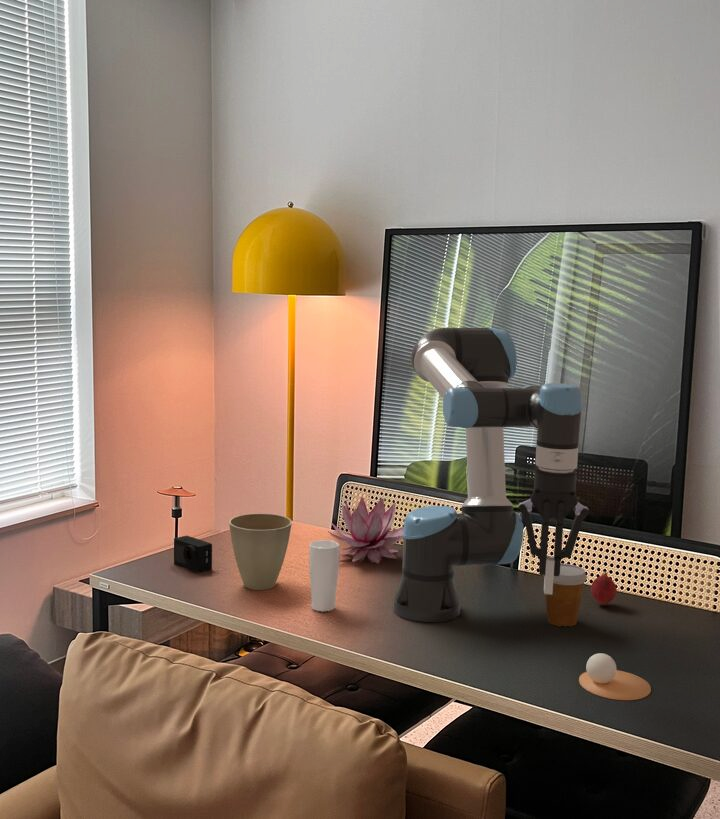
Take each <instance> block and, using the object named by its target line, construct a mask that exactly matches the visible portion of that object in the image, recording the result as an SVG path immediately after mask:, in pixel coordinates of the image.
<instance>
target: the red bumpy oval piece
mask: <svg viewBox="0 0 720 819" xmlns="http://www.w3.org/2000/svg"><path fill="white" fill-rule="evenodd" d="M590 593H591V596H592V598H593V599H594V600H595V601H596V603H598V604H599V605H600V606H606V605H607V604H610V603H611V602H612V601H613V600H614V599H615V597H616V595H617V593H618V592H617V586H616V583H615V581H614V580H613V579H612V578H611V577H609V575H608V572H607V571H603V572H602V573H601V575H600V576H598V577H596V578H595V579H594V580H593V581H592V583H591V585H590Z"/></svg>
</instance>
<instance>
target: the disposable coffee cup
mask: <svg viewBox="0 0 720 819" xmlns="http://www.w3.org/2000/svg"><path fill="white" fill-rule="evenodd" d="M542 576H543V579H544V578H545V575H542ZM587 579H588V576H587V574H586V570H585V569H584V568H583V567H581V566H578V565H575V564H570V563H561V565H560V575H559V576H554V578H553V593H552V595H551V594H545V604H546V618H547V619H546V620H547V622H548V623H549V624H551V625H553V626H556V625H557V626H556V627H561V626H565V627H566V626H570V627H574V626H576V625H577V622H578V617H579V611H580V605H581V600H582V596H583V591H584V585H585V583H586V580H587ZM575 624H576V625H575ZM573 625H574V626H573ZM565 627H564V628H565ZM566 628H567V627H566Z"/></svg>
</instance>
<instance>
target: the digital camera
mask: <svg viewBox="0 0 720 819" xmlns="http://www.w3.org/2000/svg"><path fill="white" fill-rule="evenodd" d="M173 564H174V565H176V566H178V567H181V568H183V569H186V570H189V571H192V572H194V573H196V574H200V573H201V574H202V573H204V572H208V571H212V570H213V544H212V543H210V542H207V541H204V540H201V539H199V538H195V537H192V536H189V535H183V536H179V537H174V538H173Z"/></svg>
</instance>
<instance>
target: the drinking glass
mask: <svg viewBox="0 0 720 819" xmlns="http://www.w3.org/2000/svg"><path fill="white" fill-rule="evenodd" d="M339 548H340V543H338V541H333V540H330V539H329V540H327V539H322V540H321V539H320V540H314V541H311V542H310V543H309V550H308V551H309V552H308V554H309V555H308V557H309V558H308V562H309V563H308V565H309V577H310V578H309V579H310V582H309V583H310V596H311V598H310V599H311V602H310V603H311V608H312V609H313V611H316V612H319V611H321V612H322V613H324V612H323V611H328V612H331V611H333V610H334V609H335V608H336V594H337V585H338V577H339V569H340V568H339V567H340V556H339V555H340V549H339ZM330 610H331V611H330Z"/></svg>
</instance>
